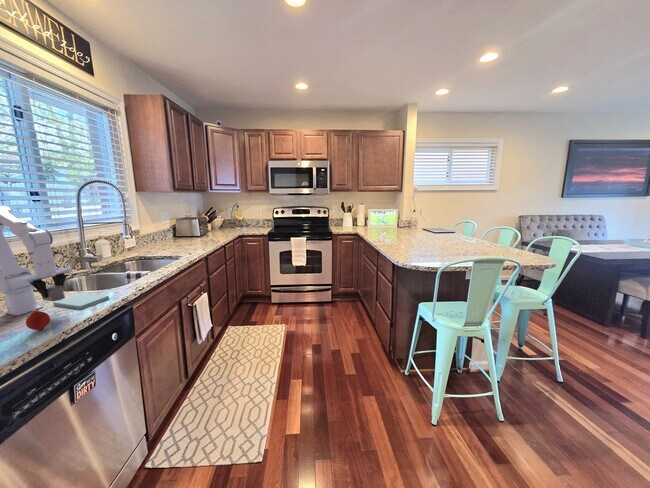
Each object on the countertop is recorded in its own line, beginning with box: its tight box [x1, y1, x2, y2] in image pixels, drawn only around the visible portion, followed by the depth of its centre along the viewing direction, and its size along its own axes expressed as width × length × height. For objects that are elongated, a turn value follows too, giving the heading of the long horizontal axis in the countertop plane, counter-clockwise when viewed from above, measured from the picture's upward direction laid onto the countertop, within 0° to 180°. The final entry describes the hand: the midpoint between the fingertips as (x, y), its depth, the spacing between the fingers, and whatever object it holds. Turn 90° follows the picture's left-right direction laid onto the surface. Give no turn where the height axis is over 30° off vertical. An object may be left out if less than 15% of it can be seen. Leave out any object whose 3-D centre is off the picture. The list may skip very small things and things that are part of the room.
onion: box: [25, 309, 51, 332], centre depth 92 cm, size 6×6×8 cm
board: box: [52, 292, 110, 310], centre depth 117 cm, size 18×11×2 cm, turn 72°
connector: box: [38, 283, 66, 302], centre depth 104 cm, size 11×4×5 cm, turn 72°
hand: (53, 295), depth 104 cm, fingers closed on connector, 4 cm apart
